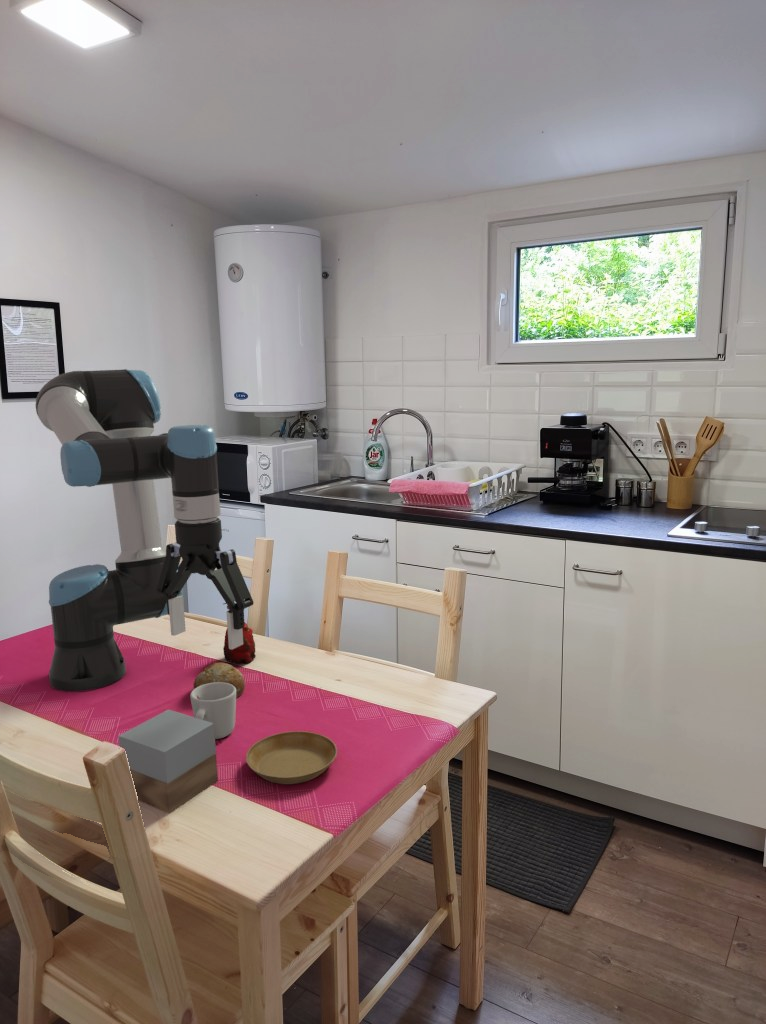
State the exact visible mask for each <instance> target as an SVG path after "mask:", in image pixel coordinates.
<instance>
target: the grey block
mask: <svg viewBox="0 0 766 1024" xmlns="http://www.w3.org/2000/svg"><path fill="white" fill-rule="evenodd" d="M119 746H120V747H122V748H124V749H125V751H126V754H127V758H128V762H129V766H130V770H133V771H136V772H138V773H141V774H143V775H146V776H149V777H151V778H154V779H157V780H159V781H162V782H164V783H167V784H168V783H169V782H171V781H172V780H174V779H176V778H177V777H179V776H180V775H182V774H183V773H185V772H187V771H188V770H190V769H191V768H193V767H194V766H196V765H198V764H199V763H201V762H202V761H204V760H205V759H207V758H209V757H210V756H212V755H213V754H215V753H216V754H217V751H216V739H215V733H214V723H211V722H208V721H204V720H201V719H198V718H195V717H194V716H191V715H188V714H185V713H182V712H179V711H175V710H172V709H166V710H165V711H163V712H161V713H159V714H157V715H155V716H153V717H151V718H149V719H147V720H146V721H144V722H141V723H140V724H138V725H136V726H134V727H133V728H131V729H128V730H126V731H125V732H122V733H121V734H119V735H118V747H119Z"/></svg>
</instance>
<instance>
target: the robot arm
mask: <svg viewBox="0 0 766 1024" xmlns="http://www.w3.org/2000/svg"><path fill="white" fill-rule="evenodd" d="M35 411H36V415H37V416H38V419H39V421H40V422H41V424H42V425H43V426H44V427H45V428H46V429H48V430H49V431H51V432H53V433H54V434H55V436H56V437H57V439H58V441H59V443H60V444H61V448H60V452H59V453H60V457H59V458H60V467H61V472H62V475H63V480H64V482H65V484H66V485H68V486H69V487H73V488H75V487H88V488H91V487H95V486H102V485H103V486H104V485H112V492H113V500H114V505H115V514H116V515H115V516H116V522H117V530H118V537H119V544H120V554H119V555H118V556H117V558H116V559H115V560H114V562H115V569H114V570H109V569H108V568H107V566H106V565H104V564H97V563H96V564H92V565H91V564H87V565H81V566H77V567H74V568H71V569H67V570H65V571H63V572H61V573H58V574H57V575H55V576H54V577H53V578H52V579H51V580H50V582H49V586H48V594H49V595H48V596H49V597H48V598H49V599H48V604H49V605H50V613H51V622H52V630H53V631H52V632H53V633H52V634H53V641H54V650H53V653H52V655H53V656H52V659H51V665H50V669H49V671H48V676H49V677H48V680H49V685H50V687H52V688H53V689H55V690H56V691H60V692H61V691H62V692H84V691H91V690H96V689H99V688H103V687H106V686H109V685H112V684H113V683H115V682H117V681H120V680H121V679H122V678H123V677H124V676H125V675H126V672H127V670H126V669H127V668H126V661H125V658H124V656H123V654H122V652H121V650H120V647H119V646H118V644H117V641H116V639H115V635H114V626H118V625H124V624H128V623H133V622H138V621H143V620H148V619H152V618H153V619H154V618H156V619H158V618H161V617H163V616H167V615H168V616H169V625H170V635H171V636H173V637H174V636H177V635H180V634H183V633H185V632H186V631H187V630H186V620H185V619H186V618H185V605H184V604H185V603H184V595H183V594H184V586H185V585H186V583H187V581H188V580H189V578H190V577H191V576H192V574H198V575H201V576H206V578H207V579H208V580H211V581H212V583H213V585H214V586H215V588H216V590H217V591H218V592H219V594H220V596H221V597H222V599H223V601H224V602H225V603H226V604H225V605H226V606H227V605H228V607H229V608H230V610H228V609H227V610H226V612H225V613H226V624H227V628H228V643H229V649H234V648H237V647H239V646H241V645H243V631H242V628H243V627H244V625H245V623H246V622H245V609H246V608H249V607H252V606H253V605H254V599H253V597H252V595H251V593H250V590H249V587H248V586H247V584H246V581H245V578H244V576H243V574H242V571H241V569H240V567H239V564H238V563H237V562H238V561H237V554H236V550H234V549H228V550H223V551H222V550H221V547H220V542H221V540H223V539H222V538H223V532H222V531H223V530H222V522H221V521H222V520H221V519H220V518H219V517H220V516H221V514H222V513H221V503H220V488H219V474H218V457H217V453H218V452H217V451H218V445H217V442H216V435H215V430H214V429H213V427H212V426H210V425H207V424H206V425H205V424H203V425H202V424H200V425H199V424H195V425H193V424H191V425H190V424H188V425H176V426H173V427H170V428H169V429H168V431H167V433H166V432H165V433H164V432H163V433H161V434H159V435H152V434H153V433H154V432H155V425H154V424H156V423H159V421H160V420H161V414H162V412H161V400H160V397H159V392H158V390H157V387H156V384H155V382H154V380H153V378H152V377H151V376H150V374H149V373H148V372H146V371H144V370H139V369H138V370H137V369H127V368H124V369H105V370H102V369H101V370H74V371H73V370H72V371H67V372H63V373H61V374H59V375H57V376H55V377H53V378H52V379H50V380H48V382H46V383H45V384H44V385H43V387H41V389H39V392H38V393H37V396H36V398H35ZM163 479H170V480H171V492H172V502H173V503H172V505H173V517H174V519H175V520H176V521H175V523H174V529H175V530H174V531H175V533H174V534H175V541H176V542H173V543H168V544H167V545H166V546H165V548H164V546H163V542H162V533H161V528H160V521H159V519H160V518H159V512H158V506H157V505H158V503H157V495H156V489H155V488H156V487H155V482H154V480H163ZM227 628H226V629H227Z"/></svg>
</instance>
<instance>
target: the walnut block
mask: <svg viewBox="0 0 766 1024" xmlns="http://www.w3.org/2000/svg"><path fill="white" fill-rule="evenodd" d="M130 771H131V774H132V778H133V781H134V785H135V789H136V792H137V796H138V800H139V801H138V800H137V801H138V802H140V803H143V804H146V805H148V806H150V807H153V808H155V809H158V810H159V811H163V812H164V813H168V814H171V813H173V812H174V811H175V810H178V809H179V808H180V807H182V806H183V805H184V804H186V803H188V802H189V801H191V800H192V799H193V798H195V797H197V796H198V795H200V794H201V793H203V792H204V791H205V789H206V790H207V789H209V788H210V787H212V786H213V785H215V784H216V783H218V782H219V778H218V777H219V775H218V761H217V752H216V753H215V754H213V755H212V756H210V757H209V758H207V759H205V760H204V761H202V762H201V763H199V764H198V765H196V766H194V767H193V768H191V769H190V770H188V771H187V772H185V773H183V774H182V775H180V776H179V777H177V778H176V779H174V780H172V781H171V782H169V783H168V784H167V783H164V782H162V781H159V780H157V779H154V778H151V777H149V776H146V775H143V774H141V773H138V772H136V771H133V770H130Z"/></svg>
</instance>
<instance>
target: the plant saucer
mask: <svg viewBox="0 0 766 1024" xmlns="http://www.w3.org/2000/svg"><path fill="white" fill-rule="evenodd" d="M337 754H338V748H337V745H336V743H335V742H334V741H333V740H332V739H331V738H329V737H328V736H325V735H323V734H320V733H317V732H312V731H301V730H297V731H296V730H294V731H284V732H278V733H275V734H271V735H269V736H266V737H264V738H261V739H260V740H258V741H256V742H255V743H253V744H252V746H250V748H249V749H248V750H247V751H246V755H245V761H246V762H245V763H247V766H248V767H249V768H250V769H251V770H252V771H253V772H254V773H255V774H256V775H258V776H259V777H261V778H262V779H264V780H265V781H268V782H271V783H274V784H278V785H297V784H301V783H305V782H309V781H310V780H313V779H315V778H316V777H318V776H320V775H322V774H323V773H324V772H325V771H326V770H327V769H328V768H329V767H330V766H331V765H332V764H333V762H334V761H335V759H336V758H337Z"/></svg>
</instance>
